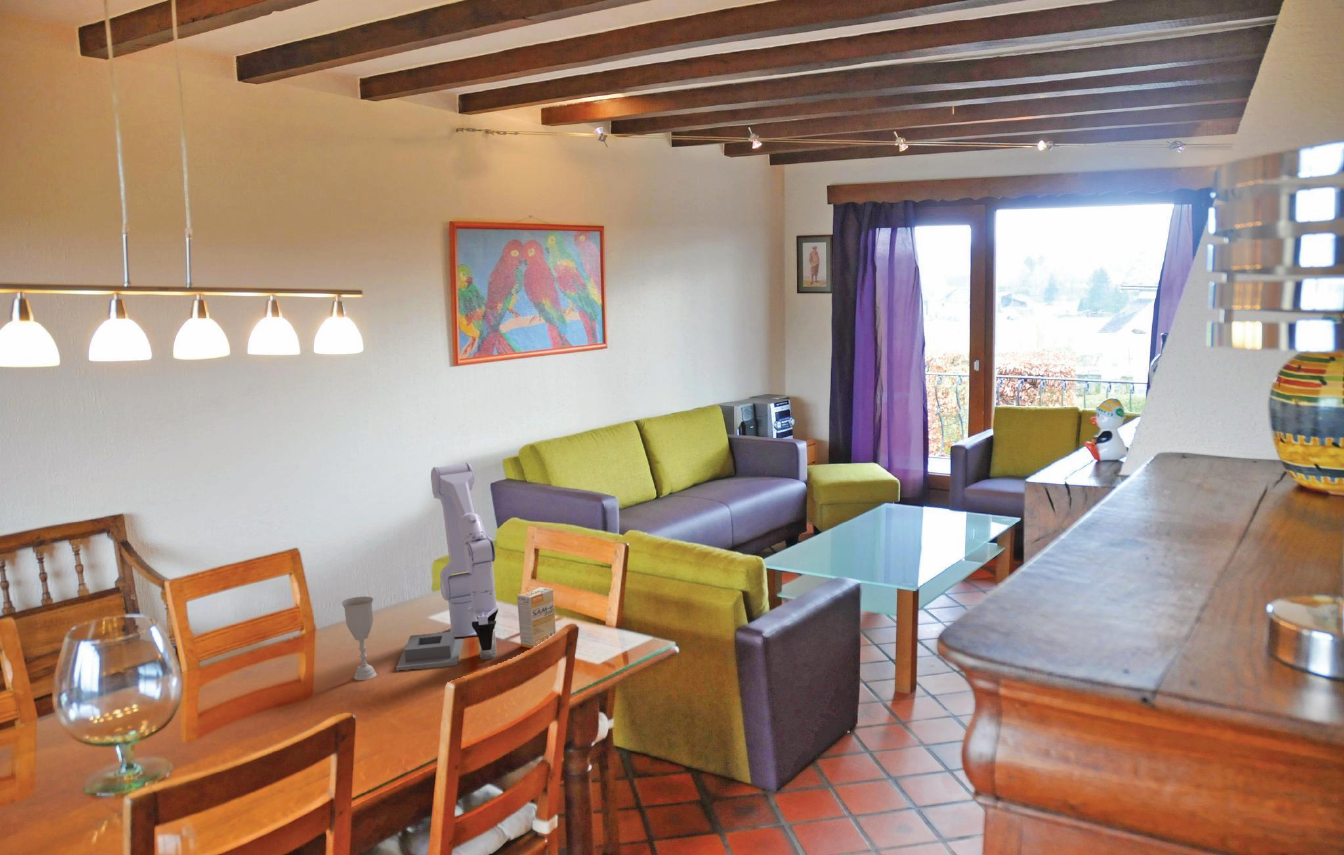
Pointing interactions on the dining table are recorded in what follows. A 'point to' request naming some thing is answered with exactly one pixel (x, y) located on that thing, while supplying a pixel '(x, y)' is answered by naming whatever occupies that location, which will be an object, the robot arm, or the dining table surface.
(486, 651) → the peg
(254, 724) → the dining table surface
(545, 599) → the supplement box
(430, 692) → the dining table surface
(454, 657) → the socket mount
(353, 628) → the chalice
